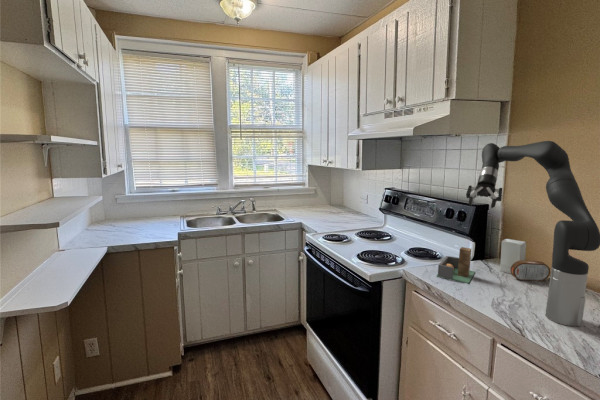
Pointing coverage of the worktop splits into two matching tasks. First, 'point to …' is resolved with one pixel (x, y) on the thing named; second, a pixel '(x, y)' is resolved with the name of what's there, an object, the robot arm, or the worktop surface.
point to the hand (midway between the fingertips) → (481, 206)
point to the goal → (449, 272)
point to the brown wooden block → (464, 262)
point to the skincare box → (511, 253)
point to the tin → (530, 270)
